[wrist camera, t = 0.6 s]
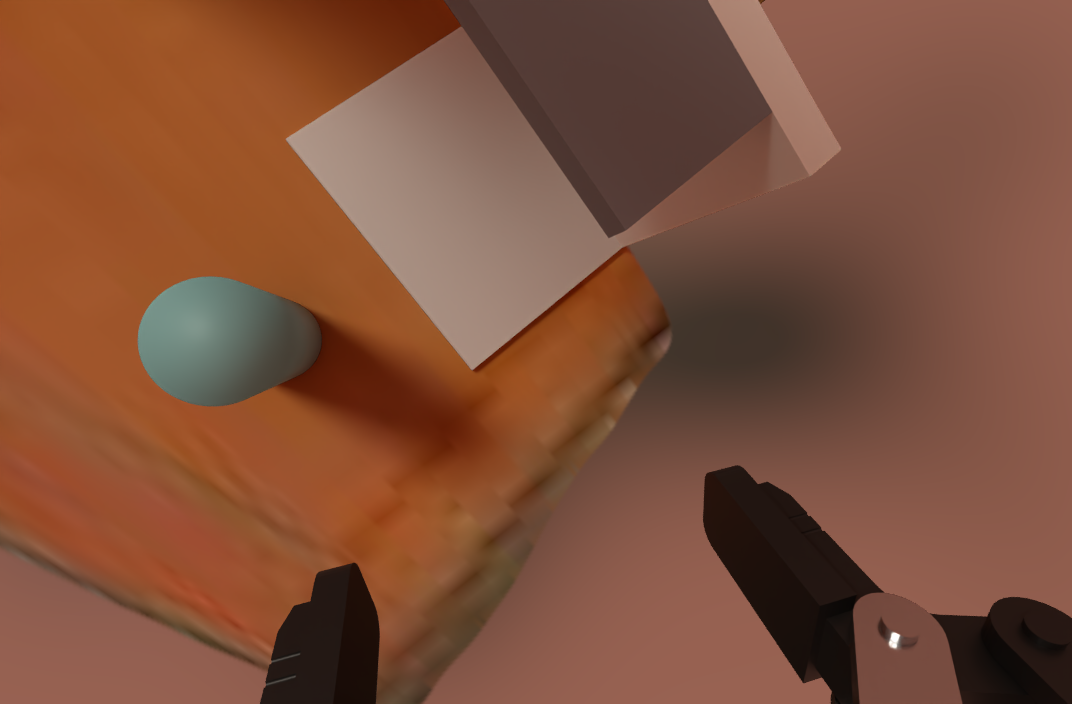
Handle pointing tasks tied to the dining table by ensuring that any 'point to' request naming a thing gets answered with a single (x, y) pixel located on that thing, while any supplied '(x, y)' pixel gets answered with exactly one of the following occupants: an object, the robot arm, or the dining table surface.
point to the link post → (225, 341)
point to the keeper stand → (559, 147)
